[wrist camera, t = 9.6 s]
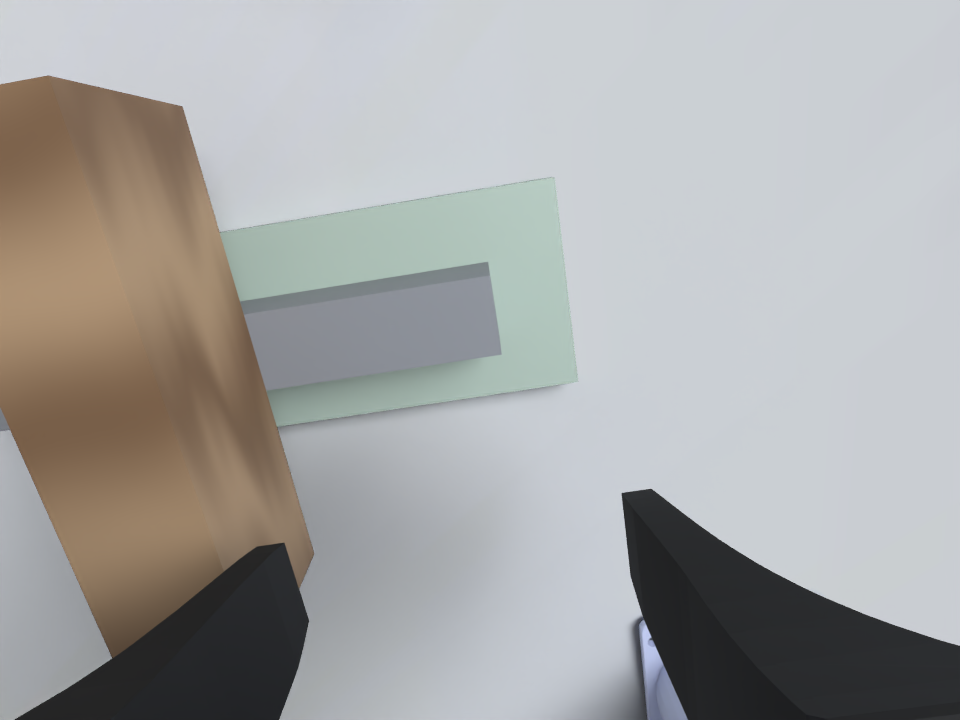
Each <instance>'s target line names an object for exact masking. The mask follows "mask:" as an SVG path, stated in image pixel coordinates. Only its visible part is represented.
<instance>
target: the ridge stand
mask: <svg viewBox="0 0 960 720" xmlns="http://www.w3.org/2000/svg"><path fill="white" fill-rule="evenodd" d="M220 236H221V239H222V242H223V246H224V249H225V253H226V256H227V259H228V263H229V266H230V270H231V273H232V276H233V280H234V283H235V287H236V290H237V293H238V297H239V300H240V304H241V307H242V310H243V314H244V317H245V321H246V324H247V327H248V331H249V334H250V337H251V341H252V344H253V348H254V351H255V354H256V358H257V361H258V365H259V368H260V371H261V375H262V378H263V382H264V385H265V388H266V392H267V395H268V399H269V402H270V405H271V409H272V412H273V415H274V419H275V422H276V426H277V427H280V426H287V425H293V424H300V423H307V422H313V421H320V420H327V419H334V418H340V417H347V416H354V415H360V414H367V413H374V412H380V411H387V410H394V409H400V408H407V407H414V406H420V405H427V404H434V403H440V402H447V401H454V400H460V399H467V398H474V397H481V396H487V395H494V394H501V393H507V392H514V391H521V390H527V389H534V388H541V387H547V386H554V385H561V384H567V383H574V382H578V377H577V368H576V359H575V350H574V342H573V333H572V324H571V316H570V307H569V298H568V290H567V281H566V272H565V263H564V255H563V246H562V237H561V229H560V220H559V211H558V203H557V194H556V185H555V178H552V177H550V178H544V179H538V180H532V181H526V182H520V183H514V184H508V185H502V186H496V187H490V188H484V189H478V190H472V191H466V192H460V193H454V194H448V195H442V196H436V197H430V198H424V199H417V200H411V201H405V202H399V203H393V204H387V205H381V206H375V207H369V208H363V209H357V210H351V211H345V212H339V213H333V214H327V215H321V216H315V217H309V218H303V219H297V220H291V221H285V222H279V223H273V224H267V225H261V226H255V227H249V228H243V229H237V230H231V231H225V232H220ZM5 430H10V428H9V426H8V424H7V421H6V419H5V417H4V415H3V412H2V410H1V408H0V431H5Z"/></svg>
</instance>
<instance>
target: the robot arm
mask: <svg viewBox="0 0 960 720" xmlns="http://www.w3.org/2000/svg"><path fill="white" fill-rule="evenodd" d="M622 501H623V510H624V519H625V528H626V538H627V547H628V556H629V565H630V574H631V579H632V582H633V585H634V589H635V592H636V595H637V599H638V602H639V605H640V608H641V612H642V615H643V618H644V620H643V621H641V623H640V624H639V634H640V645H641V655H642V666H643V676H644V687H645V698H646V708H647V719H648V720H960V646H958V645H955V644H951V643H947V642H944V641H940V640H937V639H934V638H931V637H928V636H925V635H922V634H919V633H916V632H913V631H910V630H907V629H904V628H901V627H898V626H895V625H892V624H889V623H886V622H884V621H881V620H878V619H876V618H873V617H870V616H868V615H865V614H862V613H860V612H858V611H855V610H853V609H850V608H848V607H846V606H843V605H841V604H838V603H836V602H834V601H831V600H829V599H826V598H824V597H822V596H820V595H818V594H815V593H813V592H811V591H809V590H807V589H805V588H803V587H801V586H799V585H797V584H795V583H793V582H791V581H789V580H787V579H785V578H783V577H781V576H779V575H777V574H775V573H773V572H772V571H770V570H768V569H766V568H764V567H763V566H761V565H759V564H757V563H756V562H754V561H752V560H751V559H749V558H747V557H746V556H744V555H743V554H741V553H739V552H738V551H736V550H734V549H733V548H731V547H730V546H728V545H727V544H725V543H724V542H722V541H721V540H719V539H718V538H716V537H715V536H713V535H712V534H710V533H709V532H708V531H706V530H705V529H703V528H702V527H701V526H699V525H698V524H697V523H695V522H694V521H692V520H691V519H690V518H689V517H687V516H686V515H685V514H683V513H682V512H681V511H679V510H678V509H677V508H676V507H674V506H673V505H672V504H670V503H669V502H668V501H667V500H665V499H664V498H663V497H661V496H660V495H659V494H657V493H656V492H655V491H653V490H652V489H647V490H640V491H633V492H626V493H622ZM308 623H309V619H308V616H307V613H306V610H305V607H304V603H303V600H302V597H301V594H300V591H299V587H298V584H297V581H296V578H295V575H294V571H293V568H292V565H291V562H290V559H289V555H288V552H287V549H286V546H285V543H278V544H271V545H264V546H257V547H256V548H254V549H253V550H251V551H250V552H248V553H247V554H245V555H244V556H243V557H242V558H240V559H239V560H238V561H236V562H235V563H234V564H233V565H231V566H230V567H229V568H228V569H226V570H225V571H224V572H223V573H221V574H220V575H219V576H218V577H217V578H215V579H214V580H213V581H212V582H211V583H209V584H208V585H207V586H206V587H204V588H203V589H202V590H201V591H200V592H198V593H197V594H196V595H195V596H193V597H192V598H191V599H190V600H189V601H187V602H186V603H185V604H184V605H182V606H181V607H180V608H179V609H178V610H176V611H175V612H174V613H172V614H171V615H170V616H168V617H167V618H166V619H165V620H163V621H162V622H161V623H159V624H158V625H157V626H155V627H154V628H153V629H152V630H150V631H149V632H148V633H146V634H145V635H144V636H142V637H141V638H140V639H139V640H137V641H136V642H135V643H133V644H132V645H131V646H129V647H128V648H126V649H125V650H124V651H122V652H121V653H120V654H118V655H117V656H115V657H114V658H112V659H111V660H110V661H108V662H107V663H105V664H104V665H102V666H101V667H99V668H98V669H96V670H95V671H93V672H92V673H90V674H89V675H87V676H86V677H84V678H83V679H81V680H80V681H78V682H77V683H75V684H73V685H72V686H70V687H69V688H67V689H66V690H64V691H62V692H61V693H59V694H57V695H55V696H54V697H52V698H50V699H49V700H47V701H45V702H44V703H42V704H40V705H39V706H37V707H35V708H33V709H32V710H30V711H28V712H27V713H25V714H23V715H22V716H20V717H18V718H17V719H15V720H279V718H280V716H281V713H282V710H283V708H284V705H285V702H286V700H287V697H288V694H289V692H290V689H291V686H292V683H293V681H294V678H295V675H296V672H297V669H298V666H299V662H300V658H301V654H302V650H303V646H304V641H305V637H306V632H307V627H308ZM650 638H652V640H649V639H650Z"/></svg>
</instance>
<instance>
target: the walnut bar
mask: <svg viewBox="0 0 960 720" xmlns="http://www.w3.org/2000/svg"><path fill="white" fill-rule="evenodd" d="M0 408H1V410H2V412H3V415H4V417H5V419H6V421H7V424H8V426H9V428H10V430H11V433H12V435H13V437H14V439H15V441H16V444H17V446H18V448H19V450H20V453H21V455H22V457H23V459H24V462H25V464H26V466H27V468H28V471H29V473H30V475H31V477H32V479H33V482H34V484H35V486H36V488H37V491H38V493H39V495H40V497H41V500H42V502H43V504H44V506H45V509H46V511H47V513H48V515H49V518H50V520H51V522H52V524H53V526H54V529H55V531H56V533H57V535H58V538H59V540H60V542H61V544H62V547H63V549H64V551H65V553H66V556H67V558H68V560H69V562H70V564H71V567H72V569H73V571H74V573H75V576H76V578H77V580H78V582H79V585H80V587H81V589H82V591H83V594H84V596H85V598H86V600H87V602H88V605H89V607H90V609H91V611H92V614H93V616H94V618H95V620H96V623H97V625H98V627H99V629H100V632H101V634H102V636H103V638H104V640H105V643H106V645H107V647H108V649H109V652H110V654H111V656H112V658H114V657H115V656H117V655H118V654H120V653H121V652H122V651H124V650H125V649H126V648H128V647H129V646H131V645H132V644H133V643H135V642H136V641H137V640H139V639H140V638H141V637H142V636H144V635H145V634H146V633H148V632H149V631H150V630H152V629H153V628H154V627H155V626H157V625H158V624H159V623H161V622H162V621H163V620H165V619H166V618H167V617H168V616H170V615H171V614H172V613H174V612H175V611H176V610H178V609H179V608H180V607H181V606H182V605H184V604H185V603H186V602H187V601H189V600H190V599H191V598H192V597H193V596H195V595H196V594H197V593H198V592H200V591H201V590H202V589H203V588H204V587H206V586H207V585H208V584H209V583H211V582H212V581H213V580H214V579H215V578H217V577H218V576H219V575H220V574H221V573H223V572H224V571H225V570H226V569H228V568H229V567H230V566H231V565H233V564H234V563H235V562H236V561H238V560H239V559H240V558H242V557H243V556H244V555H245V554H247V553H248V552H250V551H251V550H253V549H254V548H256V547H257V546H264V545H271V544H278V543H285V546H286V549H287V552H288V555H289V559H290V562H291V565H292V568H293V571H294V575H295V578H296V581H297V584H298V587H299V588H300V586H301V583H302V581H303V579H304V577H305V574H306V572H307V570H308V567H309V565H310V563H311V560H312V558H313V556H314V551H313V548H312V544H311V541H310V538H309V534H308V531H307V527H306V524H305V521H304V517H303V514H302V510H301V507H300V504H299V500H298V497H297V493H296V490H295V487H294V483H293V480H292V477H291V473H290V470H289V466H288V463H287V460H286V456H285V453H284V449H283V446H282V443H281V439H280V436H279V432H278V429H277V426H276V422H275V419H274V415H273V412H272V409H271V405H270V402H269V399H268V395H267V392H266V388H265V385H264V382H263V378H262V375H261V371H260V368H259V365H258V361H257V358H256V354H255V351H254V348H253V344H252V341H251V337H250V334H249V331H248V327H247V324H246V321H245V317H244V314H243V310H242V307H241V304H240V300H239V297H238V293H237V290H236V287H235V283H234V280H233V276H232V273H231V270H230V266H229V263H228V259H227V256H226V253H225V249H224V246H223V242H222V239H221V236H220V232H219V229H218V226H217V222H216V219H215V215H214V212H213V209H212V205H211V202H210V198H209V195H208V192H207V188H206V185H205V181H204V178H203V175H202V171H201V168H200V164H199V161H198V158H197V154H196V151H195V147H194V144H193V141H192V137H191V134H190V131H189V127H188V124H187V120H186V117H185V114H184V110H183V107H182V106H178V105H174V104H169V103H165V102H161V101H156V100H152V99H148V98H143V97H139V96H135V95H130V94H126V93H122V92H117V91H113V90H109V89H104V88H100V87H96V86H91V85H87V84H82V83H78V82H74V81H69V80H65V79H61V78H56V77H52V76H43V77H38V78H33V79H27V80H22V81H17V82H11V83H6V84H1V85H0Z"/></svg>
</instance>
